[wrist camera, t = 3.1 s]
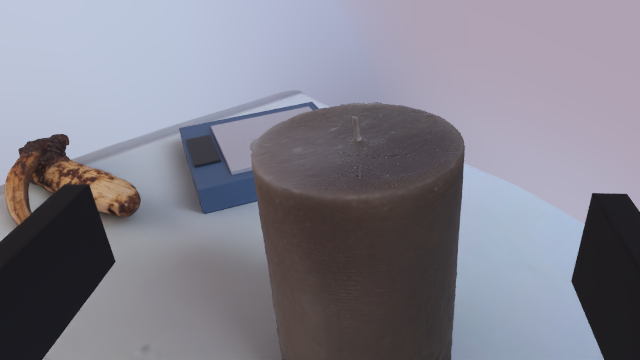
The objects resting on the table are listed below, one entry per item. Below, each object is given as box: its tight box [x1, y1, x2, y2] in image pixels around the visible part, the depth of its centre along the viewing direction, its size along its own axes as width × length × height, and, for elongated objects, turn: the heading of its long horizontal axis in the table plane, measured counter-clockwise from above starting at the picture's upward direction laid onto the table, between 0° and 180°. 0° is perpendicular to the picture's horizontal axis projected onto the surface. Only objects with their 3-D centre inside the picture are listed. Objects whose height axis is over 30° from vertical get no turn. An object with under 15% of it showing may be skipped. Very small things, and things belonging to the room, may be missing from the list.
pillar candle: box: [250, 103, 465, 360], centre depth 26 cm, size 10×10×15 cm
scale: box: [179, 102, 319, 214], centre depth 51 cm, size 15×14×3 cm
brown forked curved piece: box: [5, 134, 140, 225], centre depth 45 cm, size 9×5×18 cm
